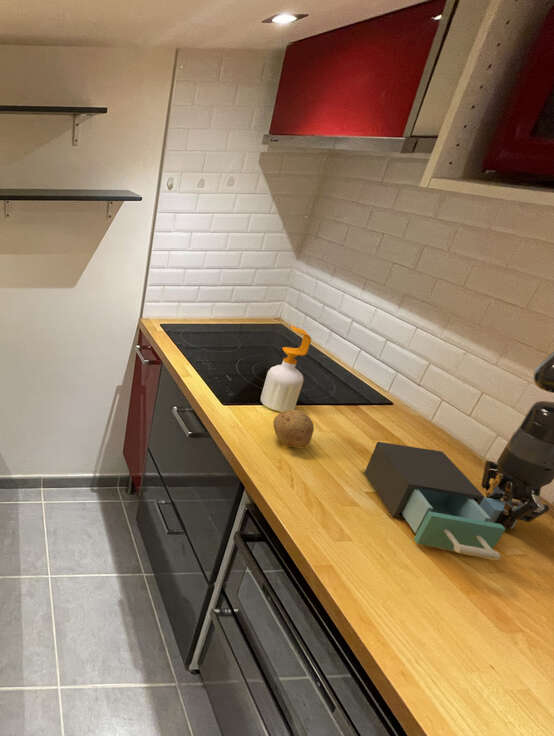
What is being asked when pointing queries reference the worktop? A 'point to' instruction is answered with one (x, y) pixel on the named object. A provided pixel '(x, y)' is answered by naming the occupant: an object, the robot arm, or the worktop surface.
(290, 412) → the brown potato
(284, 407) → the soap bottle
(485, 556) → the teal drawer
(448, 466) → the dark grey drawer cabinet
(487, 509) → the pale blue rectangular block
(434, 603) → the worktop surface
